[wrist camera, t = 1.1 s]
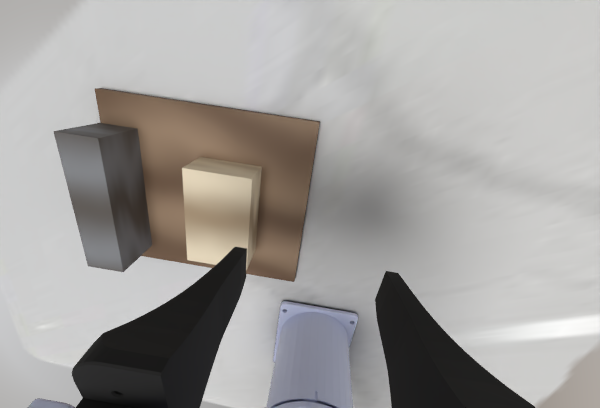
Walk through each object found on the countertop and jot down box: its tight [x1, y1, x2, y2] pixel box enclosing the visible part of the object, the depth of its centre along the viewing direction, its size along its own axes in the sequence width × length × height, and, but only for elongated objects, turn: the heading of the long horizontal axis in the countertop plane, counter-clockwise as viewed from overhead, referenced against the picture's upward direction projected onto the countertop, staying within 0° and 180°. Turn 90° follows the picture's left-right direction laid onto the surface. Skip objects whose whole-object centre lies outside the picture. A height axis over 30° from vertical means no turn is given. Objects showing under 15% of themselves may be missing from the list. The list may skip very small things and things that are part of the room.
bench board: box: [54, 88, 320, 282], centre depth 21 cm, size 15×17×5 cm
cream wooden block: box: [182, 157, 262, 270], centre depth 22 cm, size 8×5×3 cm, turn 172°
